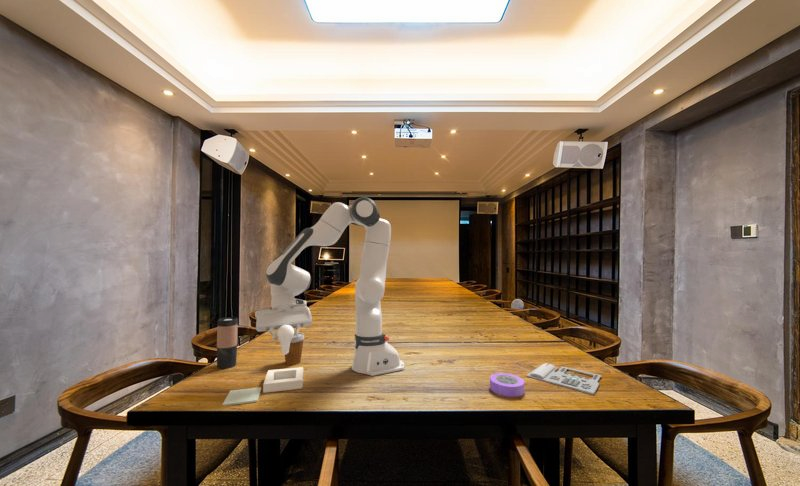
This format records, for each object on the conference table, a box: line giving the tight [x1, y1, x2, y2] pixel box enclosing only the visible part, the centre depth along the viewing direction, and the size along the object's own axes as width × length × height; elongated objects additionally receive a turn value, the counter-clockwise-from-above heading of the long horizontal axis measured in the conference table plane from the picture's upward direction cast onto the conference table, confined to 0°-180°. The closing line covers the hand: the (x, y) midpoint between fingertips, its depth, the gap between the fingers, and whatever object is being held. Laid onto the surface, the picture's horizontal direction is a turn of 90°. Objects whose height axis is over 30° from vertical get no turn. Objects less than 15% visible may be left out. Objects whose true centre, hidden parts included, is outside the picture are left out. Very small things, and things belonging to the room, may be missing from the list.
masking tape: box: [489, 372, 525, 398], centre depth 111 cm, size 12×12×4 cm
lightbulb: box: [276, 325, 295, 356], centre depth 115 cm, size 6×6×11 cm
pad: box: [222, 386, 263, 407], centre depth 104 cm, size 10×10×1 cm
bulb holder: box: [262, 366, 304, 394], centre depth 115 cm, size 13×13×3 cm
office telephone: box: [526, 362, 603, 396], centre depth 122 cm, size 23×3×20 cm
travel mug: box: [216, 316, 239, 370], centre depth 132 cm, size 8×8×20 cm
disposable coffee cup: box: [284, 332, 306, 366], centre depth 137 cm, size 10×10×12 cm
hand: (285, 337), depth 115 cm, fingers closed on lightbulb, 6 cm apart
